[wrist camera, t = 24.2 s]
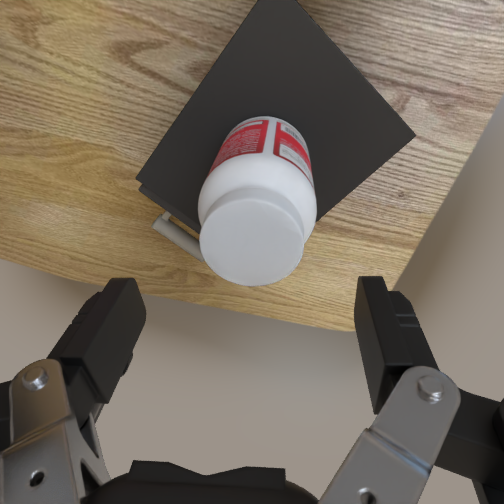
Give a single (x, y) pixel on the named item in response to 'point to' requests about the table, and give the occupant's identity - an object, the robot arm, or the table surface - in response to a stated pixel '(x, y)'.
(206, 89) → the dark grey drawer box
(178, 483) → the robot arm
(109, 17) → the table surface
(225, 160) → the pill bottle
